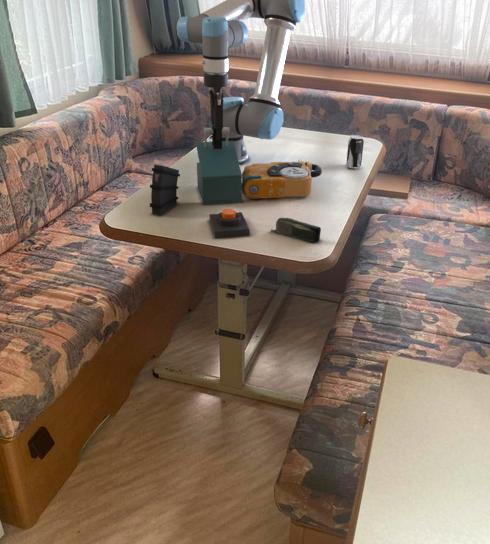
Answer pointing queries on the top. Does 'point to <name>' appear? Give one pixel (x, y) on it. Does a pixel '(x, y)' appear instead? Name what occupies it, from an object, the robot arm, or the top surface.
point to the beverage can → (355, 151)
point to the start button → (228, 214)
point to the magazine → (163, 189)
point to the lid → (218, 157)
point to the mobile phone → (297, 229)
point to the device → (278, 179)
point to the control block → (228, 226)
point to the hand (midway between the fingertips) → (217, 146)
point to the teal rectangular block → (219, 189)
